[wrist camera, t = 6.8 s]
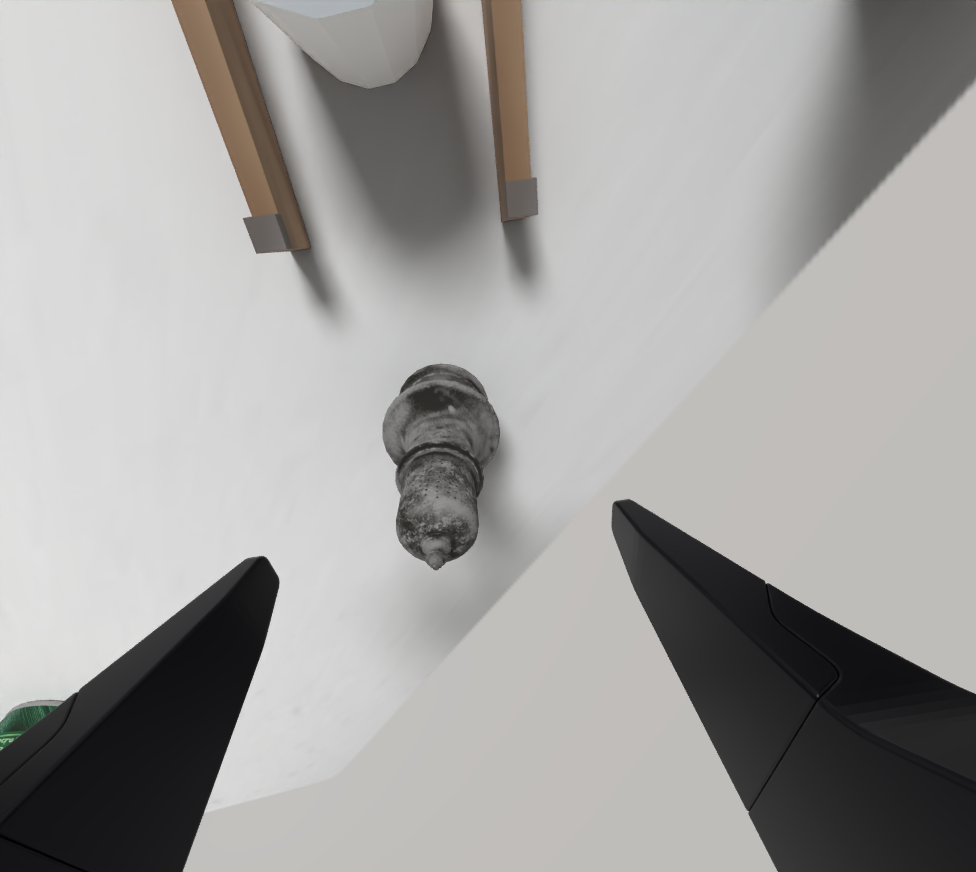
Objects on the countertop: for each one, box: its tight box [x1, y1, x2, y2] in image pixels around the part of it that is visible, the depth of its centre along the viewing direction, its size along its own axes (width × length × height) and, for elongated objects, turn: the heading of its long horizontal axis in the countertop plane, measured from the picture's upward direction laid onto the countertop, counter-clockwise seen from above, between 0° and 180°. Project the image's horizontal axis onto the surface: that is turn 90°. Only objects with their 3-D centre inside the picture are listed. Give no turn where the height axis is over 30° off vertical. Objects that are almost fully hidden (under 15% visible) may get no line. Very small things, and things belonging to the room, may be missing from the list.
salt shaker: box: [383, 364, 500, 570], centre depth 16 cm, size 6×6×12 cm
